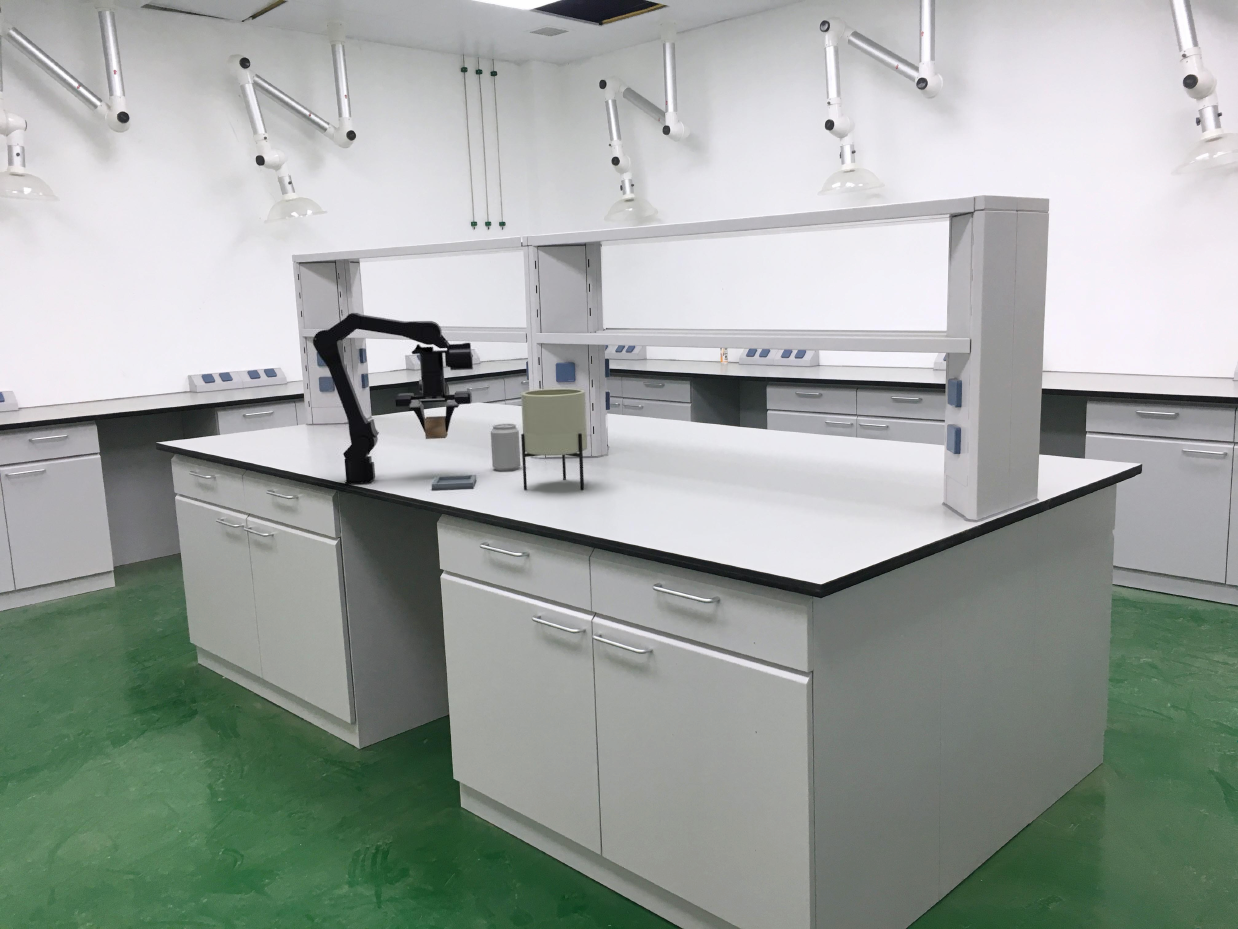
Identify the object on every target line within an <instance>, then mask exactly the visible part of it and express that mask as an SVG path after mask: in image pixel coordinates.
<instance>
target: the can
mask: <svg viewBox="0 0 1238 929" xmlns="http://www.w3.org/2000/svg"><path fill="white" fill-rule="evenodd" d="M490 442H491V443H490V445H491V459H492V460H491V461H492V462H491V463H492V464H491V465H492V468H493V469H495V470H496V471H498V472H511V471H517V470H518V469H519V467H521V449H520V448H521V447H520V430H519V428H518V427H517V424H514V423H497V424H493V425H492V429H491V430H490Z"/></svg>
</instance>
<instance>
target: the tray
mask: <svg viewBox="0 0 1238 929" xmlns="http://www.w3.org/2000/svg"><path fill="white" fill-rule="evenodd" d="M476 483H477V474H461V475H459V474H457V475H438V476H437V475H436V476H435V478H434V479H433V481H432V482H431V491H447V490H451V491H452V490H468V489H469V490H471V489H473V490H474V488H475V485H476Z"/></svg>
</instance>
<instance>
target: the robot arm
mask: <svg viewBox="0 0 1238 929" xmlns="http://www.w3.org/2000/svg"><path fill="white" fill-rule="evenodd" d="M356 330H362V331H368V332H374V333H381V334H387V335H393V336H398V337H399V336H400V337H405V338H406V339H410V340H412V341H415V342H418V343H421V344H423V345H427V346H421V344H416V346H415V348H414V349H413V350H411V354H412V355H419V363H420V364H419V366H420V377H421V379H419V380H418V391H419V392H420V393H422V395H415V394H414V393H413V392H405V393H404V392H403V393H398V394H397V395H396V396H395V407H400V408H401V407H408V410H412V411H413V412H414V414H415V415H416V417H417V419H418V421H419V423H420V425H421V428H422V429H423V432H424V433H425V422H424V419H425V418H426V416H425V409H424V408H425V407H424V403H426V404H427V403H447V404H446V406H445V416H446V424H445V427H446V432H447V433H448V432H449V429H450V424H451V420H452V417H453V413H454V412H455V409H457V408H459V407H460V405H469V404H471V403H472V402H473V394H472V392H471V391H470V390H458V391H457V390H456V391H455V392H454V394H450V393H449V394H448V393H447V392H448V390H447V383H446V380H445V370H444V360H445V367H446V368H450V371H468V370H473V369H474V365H473V363H474V362H473V359H474V358H473V354H472V347H471V346H472V345H471V342H462V343H449V340H447V339H446V338H445V337H444V335H443V332H442V327H441V326H440V325H439V323H437V322H435V321H432V320H416V321H415V320H413V321H404V320H397V319H392V318H385V317H380V316H374V315H372V316H371V315H367V314H362V313H359V312H351V313H349V314H348V315H346V317H345V318H343V319H342V320H341V321H339V322H337V323H336V324H334V325H333V326H331V327H330V328H326V329H321V330H319V331H318V332H316V333H315V334H314V337H313V338H312V345H313V347H314V348H315V351H316V352H317V354H318V356H319V357H320V359H321V360H322V361H323V363H324V364H325V365H326V367H327V369H328V372H329V374H330V376H331V379H332V380H333V385H334V387H335V390H336V393H337V395H338V398H339V400H340V402H341V403H340V404H341V405H342V408H343V411H344V413H345V416H346V418H347V423H348V432H349V438H350V443H351V444H350V445H349V447H348V448H347V449H346V450H344V452H343V453H342V455H343V457H344V470H345V481H344V485H352V484H353V485H354V484H355V485H356V484H371V483H372V482H373V481H374V480H375V478H376V470H375V461H373V460H372V455H371V456H370V454H371V452H372V450H373V449H374V448H375V447H376V445H377V444H378V440H379V438H378V435H379V434H380V432H379V431H378V430H377V428H376V424H375V419H373V418H372V419H370V420H369V419H368V418H367V417H366V416H365V414H364V412H363V409H362V407H361V406H362V405H361V404H360V400H359V399H358V396H357V393H356V390H355V388H354V385H353V382H352V380H351V377H350V375H349V371H348V369H347V367H346V363H345V359H344V358H345V357H344V356H345V355H344V349H343V343H342V341H343V340H345V339H346V338H347V337H348V336H350V335H351V334H352V333H354V332H355V331H356ZM431 345H433V346H435V347H437V348H438V350H436V349H435V350H434V347H433V346H431ZM439 349H443V350H439ZM443 357H444V358H445V359H444V358H443ZM422 403H423V404H422Z"/></svg>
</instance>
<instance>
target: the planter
mask: <svg viewBox="0 0 1238 929" xmlns="http://www.w3.org/2000/svg"><path fill="white" fill-rule="evenodd" d="M520 400H521V401H520V402H521V418H522V421H521V422H522V433H521V434H520V441H521V459H522V461H521V462H522V476H523V477H522V478H523V479H522V480H523V491H527V490H528V484H527V467H526V463H527V462H526V458H529V457H537V456H538V457H540V456H561V460H562V461H561V462H562V480H563V481H567V471H566V470H567V469H566V468H567V464H566V456H569V457H576V458H578V459H579V460H578V462H579V484H580V486H579V487H580V490H581V491H585V480H584V479H585V478H584V457H583V456H584V455H583V451H586V450H587V449H588V435H587V434H588V433H587V409H586V408H587V406H586V403H587V402H586V391H585V390H583V389H578V388H541V389H534V390H533V389H532V390H526V391H523V392H521V394H520Z"/></svg>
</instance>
